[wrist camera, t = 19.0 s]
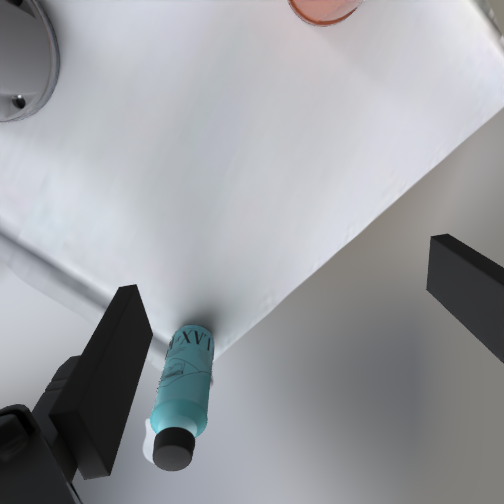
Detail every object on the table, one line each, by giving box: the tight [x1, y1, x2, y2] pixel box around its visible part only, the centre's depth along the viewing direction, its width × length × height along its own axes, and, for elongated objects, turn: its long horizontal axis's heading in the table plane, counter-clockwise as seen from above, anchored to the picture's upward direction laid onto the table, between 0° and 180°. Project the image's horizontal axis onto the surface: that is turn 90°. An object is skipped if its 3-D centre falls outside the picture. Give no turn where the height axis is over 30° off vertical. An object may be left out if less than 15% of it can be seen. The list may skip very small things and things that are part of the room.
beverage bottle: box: [150, 325, 215, 471], centre depth 42 cm, size 6×7×20 cm
